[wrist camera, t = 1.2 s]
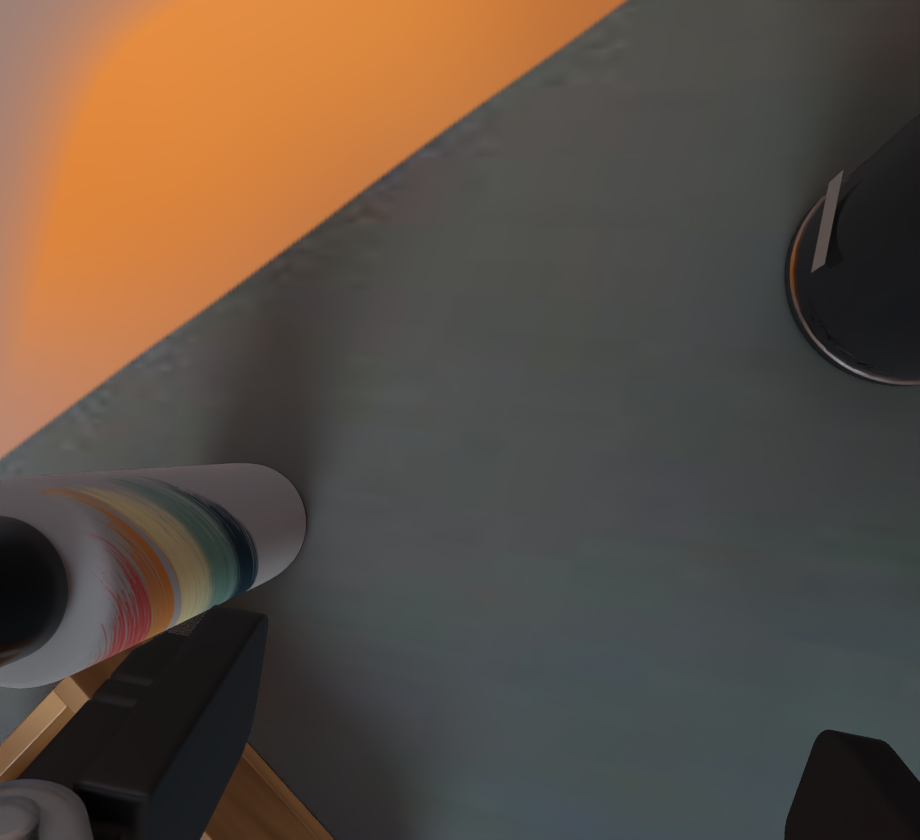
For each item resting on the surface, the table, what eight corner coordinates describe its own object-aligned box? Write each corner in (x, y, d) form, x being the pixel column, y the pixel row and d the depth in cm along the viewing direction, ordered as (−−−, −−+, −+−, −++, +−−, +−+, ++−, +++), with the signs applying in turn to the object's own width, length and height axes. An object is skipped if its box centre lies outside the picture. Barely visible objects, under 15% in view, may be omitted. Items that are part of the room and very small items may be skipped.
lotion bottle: (177, 552, 34) (-333, 701, 15) (222, 443, 34) (-231, 444, 15) (281, 601, 34) (-108, 828, 14) (327, 490, 34) (1, 558, 14)
